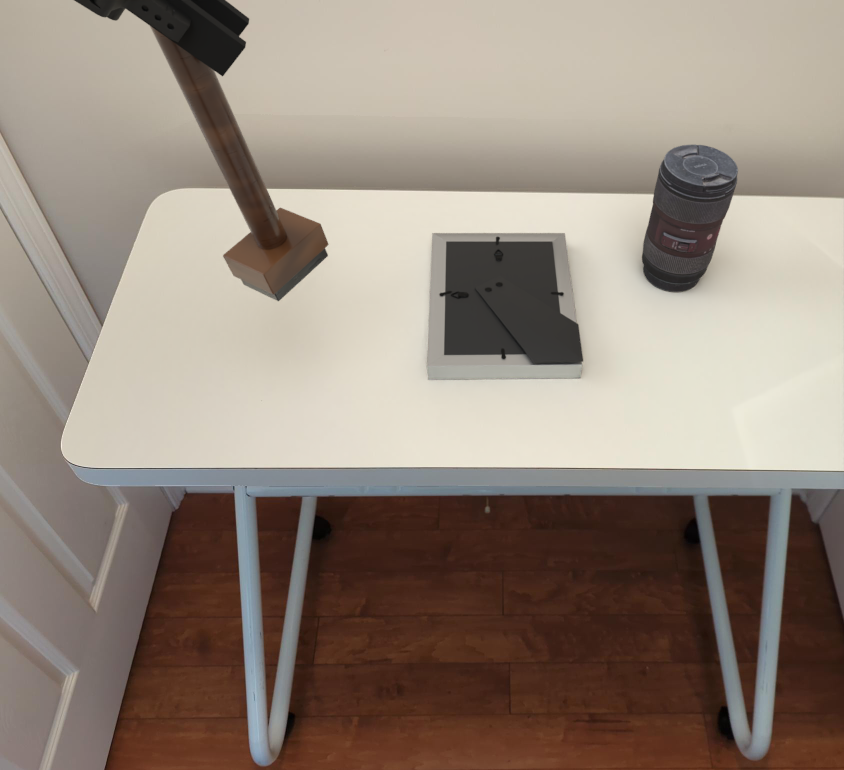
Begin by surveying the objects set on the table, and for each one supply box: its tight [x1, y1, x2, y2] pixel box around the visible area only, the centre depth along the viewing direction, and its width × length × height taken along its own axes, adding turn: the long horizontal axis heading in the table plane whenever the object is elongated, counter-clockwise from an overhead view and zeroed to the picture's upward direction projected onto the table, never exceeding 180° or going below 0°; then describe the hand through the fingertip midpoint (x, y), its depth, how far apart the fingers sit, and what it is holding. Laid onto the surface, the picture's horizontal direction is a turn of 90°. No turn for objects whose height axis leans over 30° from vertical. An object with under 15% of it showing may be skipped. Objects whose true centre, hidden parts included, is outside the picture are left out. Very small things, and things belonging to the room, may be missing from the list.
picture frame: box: [426, 232, 584, 380], centre depth 83 cm, size 16×3×21 cm
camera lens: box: [641, 144, 739, 293], centre depth 83 cm, size 8×8×15 cm
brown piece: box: [149, 25, 330, 302], centre depth 51 cm, size 7×5×40 cm
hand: (235, 46), depth 51 cm, fingers closed on brown piece, 3 cm apart
